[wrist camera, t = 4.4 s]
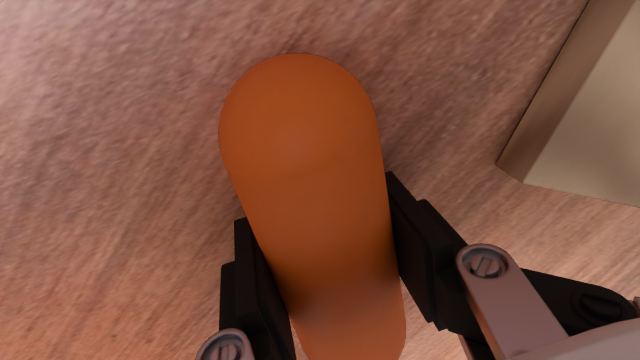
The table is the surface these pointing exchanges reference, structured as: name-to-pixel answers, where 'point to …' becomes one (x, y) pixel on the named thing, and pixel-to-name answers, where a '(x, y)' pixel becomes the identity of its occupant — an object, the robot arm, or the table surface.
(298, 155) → the carrot
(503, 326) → the robot arm
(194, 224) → the table surface
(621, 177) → the chopping board
